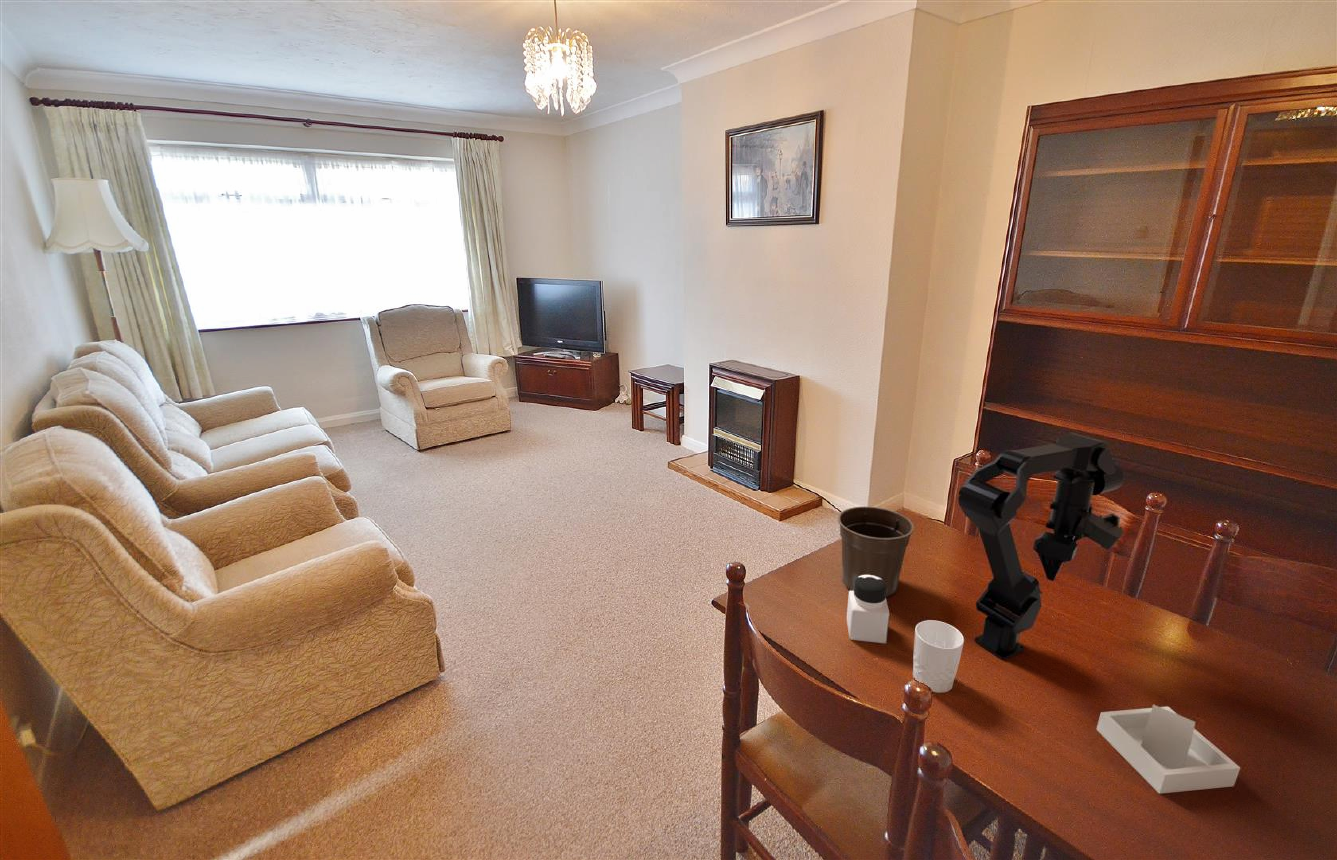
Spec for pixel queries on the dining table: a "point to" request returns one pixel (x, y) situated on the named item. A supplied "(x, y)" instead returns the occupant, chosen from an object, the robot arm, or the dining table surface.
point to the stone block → (1168, 737)
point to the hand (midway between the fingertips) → (1056, 570)
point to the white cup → (936, 654)
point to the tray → (1198, 772)
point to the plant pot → (873, 544)
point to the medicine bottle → (868, 610)
